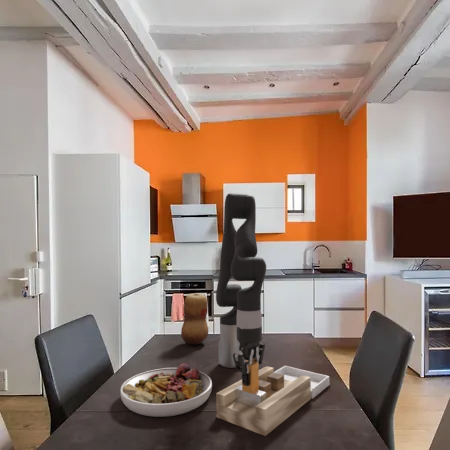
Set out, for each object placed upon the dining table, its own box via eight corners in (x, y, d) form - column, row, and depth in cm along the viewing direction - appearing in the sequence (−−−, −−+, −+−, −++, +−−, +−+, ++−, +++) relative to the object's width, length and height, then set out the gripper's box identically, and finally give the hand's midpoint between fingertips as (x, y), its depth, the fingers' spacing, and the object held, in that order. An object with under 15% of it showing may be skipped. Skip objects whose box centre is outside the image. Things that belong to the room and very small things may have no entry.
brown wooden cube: (253, 397, 112) (253, 384, 112) (260, 392, 115) (260, 380, 115) (264, 400, 109) (264, 387, 109) (271, 396, 112) (271, 383, 112)
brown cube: (267, 388, 118) (267, 376, 118) (273, 384, 121) (273, 372, 121) (277, 391, 115) (277, 379, 115) (284, 387, 118) (283, 375, 119)
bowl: (187, 429, 102) (187, 400, 102) (100, 412, 112) (100, 386, 112) (224, 387, 130) (224, 364, 130) (152, 376, 140) (152, 356, 140)
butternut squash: (197, 349, 172) (196, 296, 173) (175, 345, 179) (175, 294, 180) (214, 342, 183) (213, 292, 184) (193, 338, 191) (192, 291, 192)
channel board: (216, 417, 108) (216, 393, 108) (266, 385, 130) (266, 366, 130) (265, 436, 97) (264, 409, 97) (310, 398, 119) (310, 377, 119)
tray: (265, 385, 130) (265, 376, 130) (285, 373, 141) (284, 365, 141) (312, 398, 119) (312, 389, 119) (329, 384, 130) (329, 376, 130)
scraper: (234, 401, 108) (234, 361, 109) (241, 397, 111) (241, 358, 111) (260, 410, 103) (259, 367, 103) (266, 406, 106) (266, 364, 106)
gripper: (252, 318, 116) (252, 372, 115) (224, 327, 104) (225, 387, 104) (272, 321, 111) (273, 378, 110) (245, 331, 100) (246, 394, 99)
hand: (250, 382), depth 107 cm, fingers closed on scraper, 3 cm apart
